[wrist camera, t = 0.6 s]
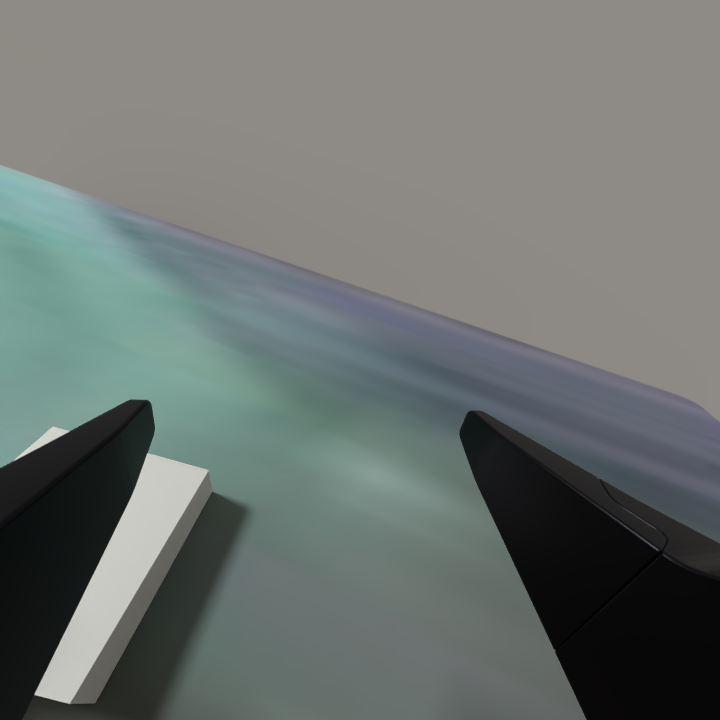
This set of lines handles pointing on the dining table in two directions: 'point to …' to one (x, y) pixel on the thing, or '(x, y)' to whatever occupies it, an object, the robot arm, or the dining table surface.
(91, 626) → the off-white base block
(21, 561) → the robot arm
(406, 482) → the dining table surface
